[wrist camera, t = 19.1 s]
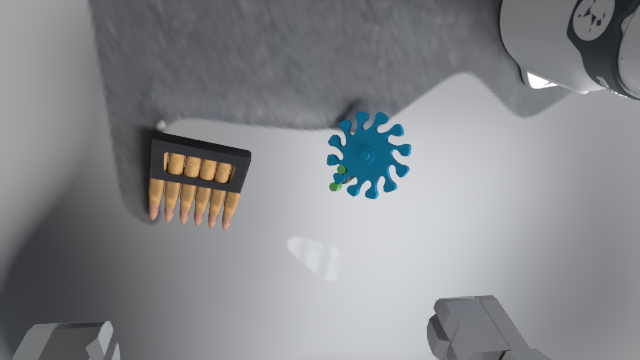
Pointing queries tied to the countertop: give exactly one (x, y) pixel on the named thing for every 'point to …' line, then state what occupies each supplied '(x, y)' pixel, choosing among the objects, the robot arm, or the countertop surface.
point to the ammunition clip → (195, 177)
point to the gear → (367, 155)
